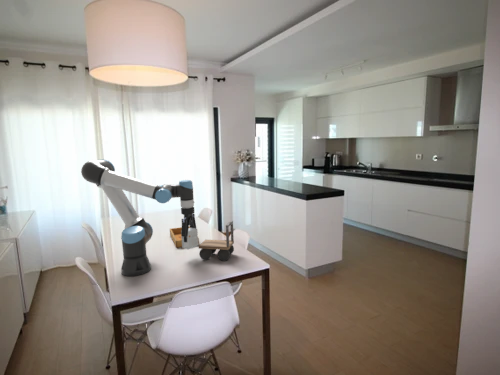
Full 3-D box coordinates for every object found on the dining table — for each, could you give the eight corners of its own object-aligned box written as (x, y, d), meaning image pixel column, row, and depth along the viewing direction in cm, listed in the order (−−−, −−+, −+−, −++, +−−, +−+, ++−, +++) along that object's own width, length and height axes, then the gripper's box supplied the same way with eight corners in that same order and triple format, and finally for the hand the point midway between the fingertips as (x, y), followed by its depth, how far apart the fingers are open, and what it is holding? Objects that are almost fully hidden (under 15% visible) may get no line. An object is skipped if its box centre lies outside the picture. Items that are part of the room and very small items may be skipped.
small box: (192, 244, 187) (191, 227, 186) (198, 245, 184) (197, 228, 182) (181, 247, 181) (180, 230, 180) (188, 249, 178) (186, 231, 176)
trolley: (229, 261, 177) (227, 225, 174) (199, 259, 181) (197, 224, 178) (234, 253, 189) (232, 220, 186) (206, 252, 193) (204, 219, 190)
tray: (198, 245, 209) (198, 237, 208) (176, 248, 203) (175, 240, 202) (190, 233, 237) (189, 226, 236) (170, 236, 232) (169, 228, 231)
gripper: (185, 211, 168) (188, 250, 171) (200, 203, 189) (202, 238, 192) (173, 211, 169) (176, 250, 172) (188, 203, 191) (191, 238, 194)
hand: (190, 244), depth 182 cm, fingers closed on small box, 9 cm apart
